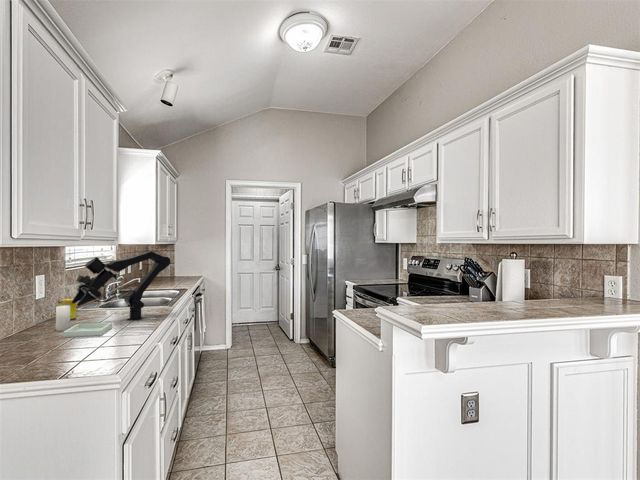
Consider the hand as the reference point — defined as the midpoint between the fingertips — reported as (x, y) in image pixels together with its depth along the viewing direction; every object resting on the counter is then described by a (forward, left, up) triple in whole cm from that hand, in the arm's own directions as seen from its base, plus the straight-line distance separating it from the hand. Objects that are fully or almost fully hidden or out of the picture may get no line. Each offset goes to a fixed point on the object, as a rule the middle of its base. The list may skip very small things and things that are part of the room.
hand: (75, 304), depth 175 cm
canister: (+3, -4, -11) cm, 12 cm away
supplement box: (-18, -11, -12) cm, 24 cm away
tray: (+11, +10, -11) cm, 19 cm away
